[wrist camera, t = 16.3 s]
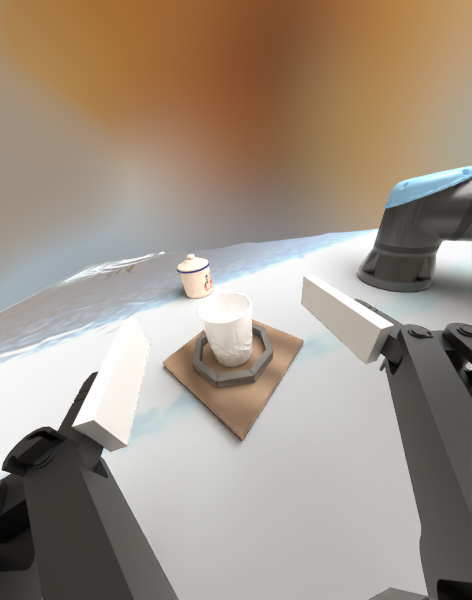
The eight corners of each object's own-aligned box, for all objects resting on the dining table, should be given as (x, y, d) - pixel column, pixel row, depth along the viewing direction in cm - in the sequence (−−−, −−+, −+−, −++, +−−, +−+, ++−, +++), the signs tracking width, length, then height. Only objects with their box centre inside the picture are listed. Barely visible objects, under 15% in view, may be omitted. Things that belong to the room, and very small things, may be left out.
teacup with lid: (213, 297, 50) (204, 258, 44) (182, 301, 50) (169, 263, 44) (216, 279, 60) (209, 245, 54) (190, 282, 61) (181, 249, 54)
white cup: (233, 330, 35) (225, 287, 30) (264, 348, 30) (262, 301, 25) (202, 354, 31) (187, 309, 26) (233, 380, 26) (222, 331, 21)
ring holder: (229, 314, 42) (228, 304, 41) (302, 344, 32) (304, 332, 30) (164, 366, 31) (158, 355, 30) (242, 440, 21) (239, 430, 19)
